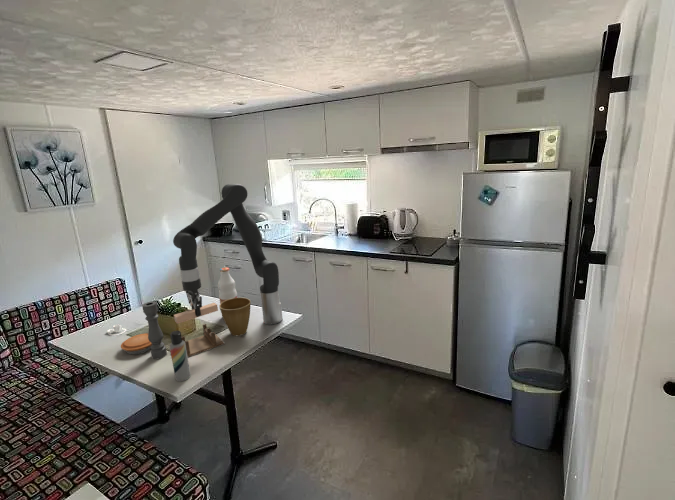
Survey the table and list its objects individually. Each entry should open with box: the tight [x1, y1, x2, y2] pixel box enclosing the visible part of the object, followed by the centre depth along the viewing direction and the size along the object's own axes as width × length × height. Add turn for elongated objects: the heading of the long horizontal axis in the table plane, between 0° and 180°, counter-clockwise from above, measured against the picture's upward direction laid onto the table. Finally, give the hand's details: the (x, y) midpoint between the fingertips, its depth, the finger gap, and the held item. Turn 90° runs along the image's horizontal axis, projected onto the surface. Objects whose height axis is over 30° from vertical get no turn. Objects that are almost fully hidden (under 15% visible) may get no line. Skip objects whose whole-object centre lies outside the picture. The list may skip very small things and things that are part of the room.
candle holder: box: [141, 301, 168, 360], centre depth 160 cm, size 6×6×25 cm
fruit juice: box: [217, 267, 238, 319], centre depth 197 cm, size 9×9×28 cm
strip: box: [173, 302, 219, 324], centre depth 160 cm, size 18×4×3 cm, turn 130°
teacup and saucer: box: [106, 323, 127, 336], centre depth 188 cm, size 9×8×4 cm
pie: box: [120, 332, 152, 355], centre depth 170 cm, size 16×16×5 cm
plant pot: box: [218, 297, 251, 337], centre depth 178 cm, size 15×15×16 cm
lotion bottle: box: [169, 330, 192, 382], centre depth 142 cm, size 6×6×20 cm
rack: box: [181, 323, 225, 358], centre depth 168 cm, size 20×14×7 cm
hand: (196, 314), depth 160 cm, fingers closed on strip, 3 cm apart
